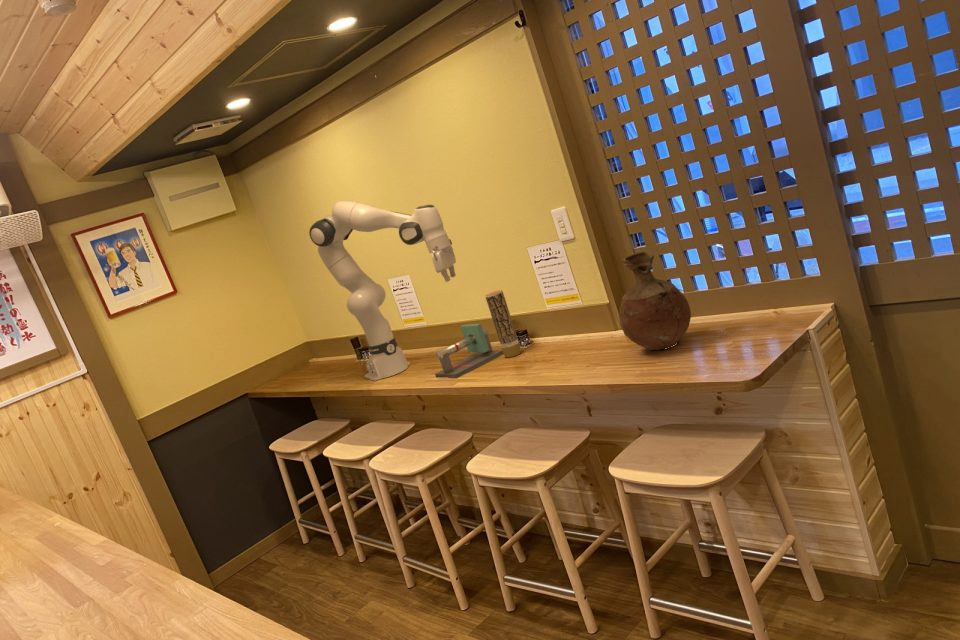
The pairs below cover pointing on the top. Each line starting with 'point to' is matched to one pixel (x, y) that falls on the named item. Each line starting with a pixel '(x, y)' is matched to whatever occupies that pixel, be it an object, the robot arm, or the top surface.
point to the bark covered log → (503, 323)
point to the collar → (479, 335)
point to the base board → (470, 364)
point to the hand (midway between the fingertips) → (451, 279)
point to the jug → (652, 307)
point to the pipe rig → (445, 353)
